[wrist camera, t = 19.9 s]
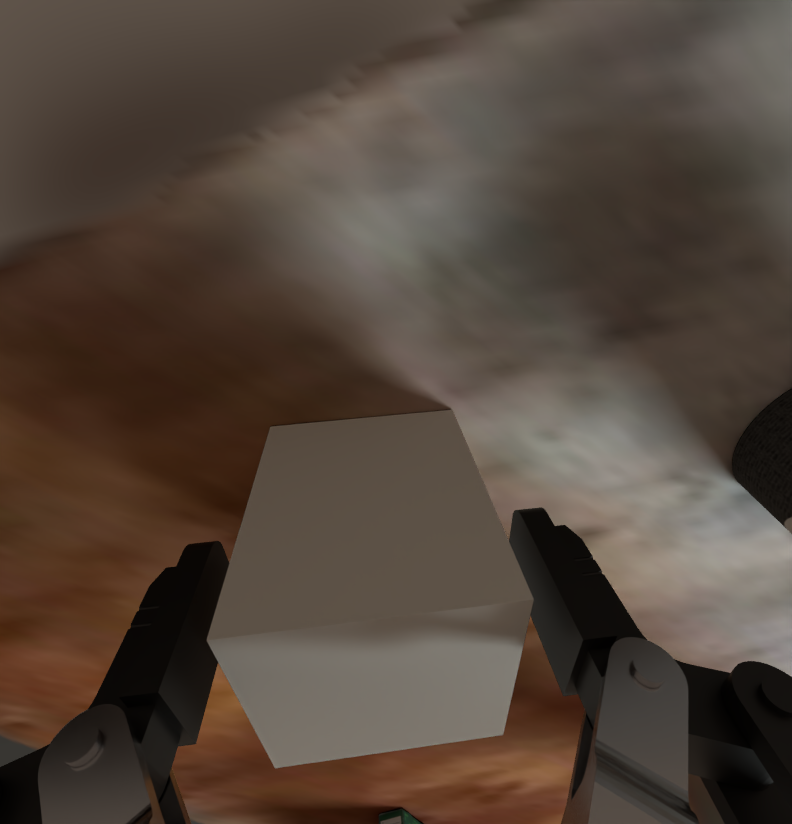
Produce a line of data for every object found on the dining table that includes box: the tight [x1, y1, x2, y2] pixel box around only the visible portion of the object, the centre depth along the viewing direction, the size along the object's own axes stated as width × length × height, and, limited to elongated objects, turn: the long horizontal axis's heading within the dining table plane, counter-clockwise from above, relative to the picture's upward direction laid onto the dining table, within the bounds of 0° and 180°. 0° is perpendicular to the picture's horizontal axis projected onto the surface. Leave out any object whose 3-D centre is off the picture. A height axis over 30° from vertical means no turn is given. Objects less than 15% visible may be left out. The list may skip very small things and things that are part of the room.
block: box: [207, 410, 534, 768], centre depth 13 cm, size 7×7×8 cm
